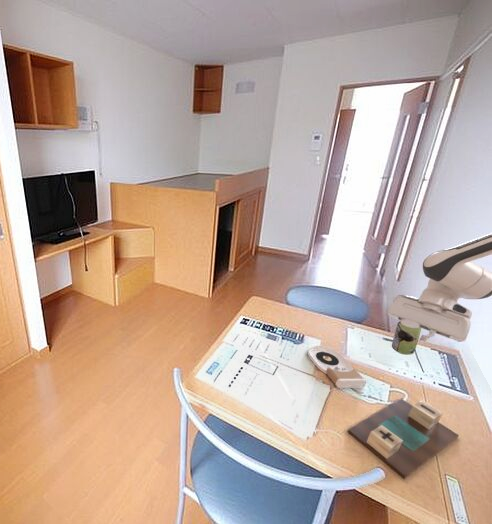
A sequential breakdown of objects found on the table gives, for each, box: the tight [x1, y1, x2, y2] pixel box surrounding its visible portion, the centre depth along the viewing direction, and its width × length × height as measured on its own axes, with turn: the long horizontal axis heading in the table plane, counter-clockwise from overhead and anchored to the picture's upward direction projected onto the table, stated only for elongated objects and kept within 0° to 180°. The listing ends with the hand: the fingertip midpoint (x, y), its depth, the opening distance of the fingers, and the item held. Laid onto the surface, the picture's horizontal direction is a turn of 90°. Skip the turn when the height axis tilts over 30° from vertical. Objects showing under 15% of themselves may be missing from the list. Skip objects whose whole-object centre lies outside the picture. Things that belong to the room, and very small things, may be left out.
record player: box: [307, 345, 367, 389], centre depth 109 cm, size 12×3×20 cm
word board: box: [347, 398, 460, 480], centre depth 83 cm, size 26×14×5 cm, turn 115°
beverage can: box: [391, 319, 422, 356], centre depth 102 cm, size 6×7×12 cm
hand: (416, 338), depth 101 cm, fingers closed on beverage can
